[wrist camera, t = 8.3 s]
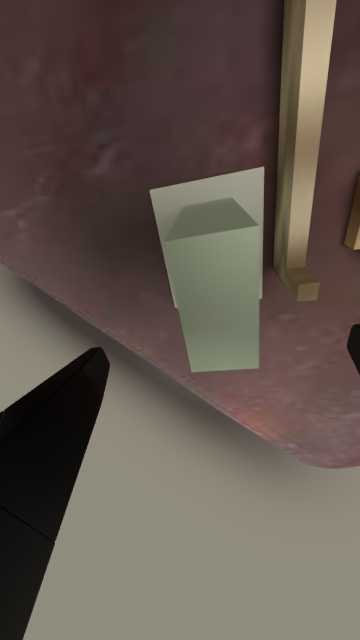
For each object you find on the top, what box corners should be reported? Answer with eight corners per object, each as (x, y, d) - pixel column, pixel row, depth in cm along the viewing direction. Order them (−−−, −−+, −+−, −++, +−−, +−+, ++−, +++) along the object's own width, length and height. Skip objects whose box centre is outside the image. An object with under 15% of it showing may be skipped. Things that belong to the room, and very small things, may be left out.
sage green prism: (236, 285, 20) (259, 368, 12) (197, 290, 21) (191, 372, 12) (231, 196, 16) (259, 225, 8) (183, 206, 17) (163, 241, 9)
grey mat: (260, 295, 21) (262, 298, 21) (175, 305, 22) (175, 308, 22) (262, 166, 16) (264, 166, 15) (150, 189, 17) (149, 190, 17)
